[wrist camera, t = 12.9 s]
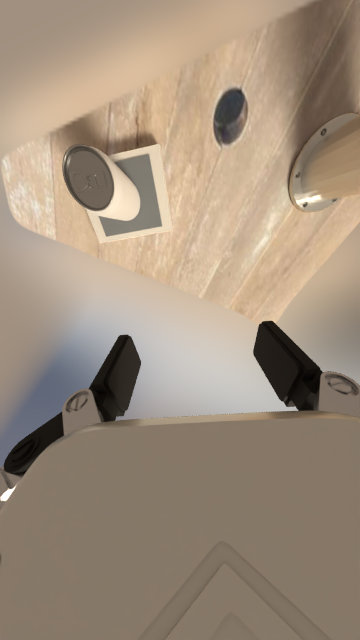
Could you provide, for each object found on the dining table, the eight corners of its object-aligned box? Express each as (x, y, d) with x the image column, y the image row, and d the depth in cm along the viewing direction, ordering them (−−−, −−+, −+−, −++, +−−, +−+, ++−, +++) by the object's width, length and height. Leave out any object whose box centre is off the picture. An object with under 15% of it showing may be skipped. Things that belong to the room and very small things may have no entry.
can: (100, 176, 25) (45, 139, 15) (137, 174, 25) (108, 135, 14) (111, 221, 28) (73, 216, 18) (143, 220, 28) (123, 214, 18)
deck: (161, 152, 25) (159, 142, 23) (173, 230, 32) (172, 230, 29) (78, 171, 27) (67, 164, 24) (106, 242, 33) (99, 243, 30)
